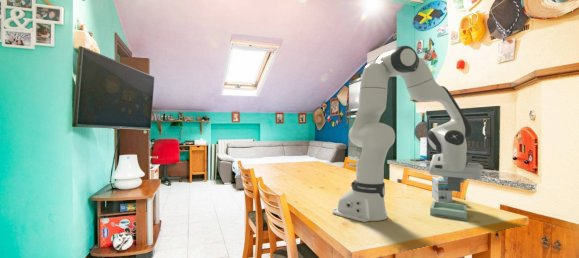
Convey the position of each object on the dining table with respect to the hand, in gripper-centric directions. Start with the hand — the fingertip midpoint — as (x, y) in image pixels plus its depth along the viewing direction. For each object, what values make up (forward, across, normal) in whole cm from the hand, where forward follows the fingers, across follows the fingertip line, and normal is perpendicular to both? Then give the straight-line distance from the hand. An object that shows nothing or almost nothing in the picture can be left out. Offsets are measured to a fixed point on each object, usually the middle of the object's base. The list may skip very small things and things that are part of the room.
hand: (454, 180), depth 128 cm
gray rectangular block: (+3, 0, +3) cm, 4 cm away
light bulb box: (+17, +6, +1) cm, 18 cm away
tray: (0, +2, +18) cm, 18 cm away
